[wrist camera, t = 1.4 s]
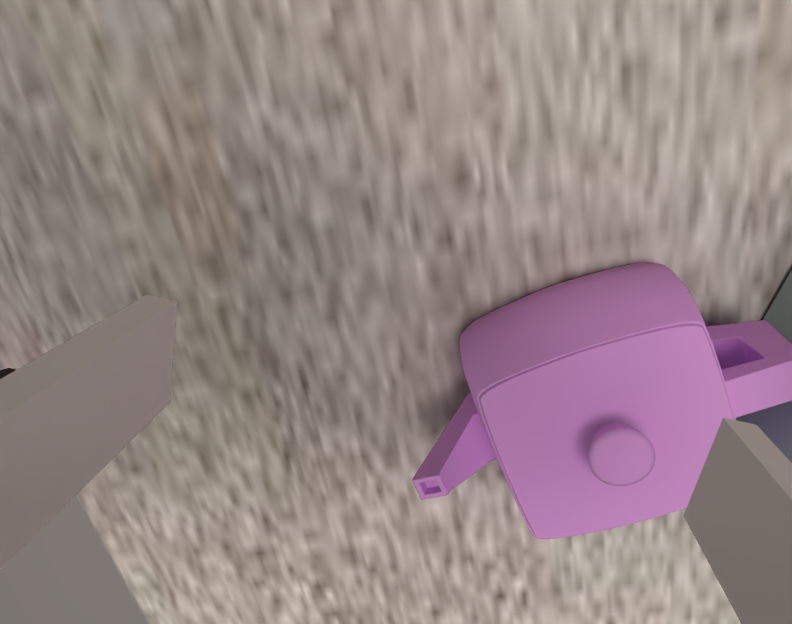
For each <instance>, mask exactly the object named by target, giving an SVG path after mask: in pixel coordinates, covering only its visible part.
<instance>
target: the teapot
mask: <svg viewBox="0 0 792 624" xmlns="http://www.w3.org/2000/svg"><path fill="white" fill-rule="evenodd" d="M460 354H461V361H462V366H463V370H464V374H465V377H466V380H467V383H468V386H469V389H470V391H471V392H470V393H468V395H467V396H466V398H465V399H464V401H463V402H462V404H461V405H460V407H459V409H458V410H457V412H456V413H455V415H454V416H453V418H452V419H451V421H450V422H449V424H448V425H447V427H446V428H445V430H444V431H443V433H442V435H441V436H440V438H439V439H438V441H437V442H436V444H435V445H434V447H433V448H432V450H431V451H430V453H429V454H428V456H427V458H426V459H425V461H424V462H423V464H422V465H421V467H420V468H419V470H418V471H417V473H416V474H415V476H414V477H413V480H412V481H413V483H414V486H415V488H416V490H417V492H418V494H419V496H420V498H421V500H422V499H428V498H433V497H439V496H444V495H448V494H449V491H451V490H452V489H453V488H455V487H456V486H458V485H459V484H460V483H462V482H463V481H464V480H466V479H467V478H469V477H470V476H471V475H473V474H474V473H475V472H477V471H478V470H479V469H481V468H482V467H484V466H485V465H486V464H488V463H489V462H490V461H492V460H494V459H497V461H498V464H499V466H500V468H501V470H502V472H503V475H504V477H505V479H506V481H507V483H508V485H509V488H510V490H511V492H512V494H513V496H514V498H515V500H516V502H517V505H518V507H519V509H520V511H521V513H522V515H523V517H524V520H525V522H526V524H527V525H528V527H529V529H530V531H531V533H532V534H533V535H534V537H536V538H539V539H554V538H562V537H569V536H576V535H581V534H586V533H592V532H597V531H601V530H606V529H611V528H615V527H620V526H624V525H628V524H633V523H637V522H641V521H645V520H648V519H652V518H655V517H659V516H662V515H665V514H669V513H672V512H675V511H678V510H682V509H685V508H687V506H688V503H689V501H690V498H691V496H692V493H693V491H694V488H695V486H696V483H697V481H698V478H699V476H700V474H701V471H702V469H703V466H704V464H705V461H706V459H707V456H708V454H709V451H710V449H711V446H712V444H713V441H714V439H715V437H716V434H717V432H718V429H719V427H720V424H721V422H722V419H723V418H727V419H732V420H736V418H737V417H740V416H743V415H747V414H750V413H753V412H756V411H760V410H763V409H766V408H769V407H773V406H776V405H779V404H783V403H786V402H789V401H792V344H791V343H790V342H789V341H788V340H787V339H785V338H784V337H783V336H782V335H781V334H780V333H779V332H778V331H777V330H776V329H775V328H774V327H773V326H772V325H771V324H770V323H769V322H768V321H766V320H760V321H751V322H742V323H733V324H724V325H715V326H706V325H705V322H704V320H703V318H702V316H701V313H700V311H699V309H698V307H697V305H696V303H695V301H694V300H693V298H692V296H691V295H690V293H689V291H688V290H687V288H686V287H685V285H684V284H683V282H682V281H681V280H680V279H679V278H678V277H677V275H676V274H675V273H674V272H672V271H671V270H670V269H669V268H667V267H666V266H664V265H662V264H657V263H650V262H646V263H635V264H630V265H625V266H620V267H616V268H612V269H608V270H604V271H600V272H597V273H593V274H589V275H586V276H582V277H578V278H575V279H571V280H568V281H565V282H562V283H559V284H556V285H553V286H550V287H547V288H545V289H542V290H539V291H537V292H535V293H532V294H530V295H527V296H525V297H523V298H521V299H518V300H516V301H514V302H512V303H509V304H507V305H505V306H503V307H501V308H499V309H496V310H494V311H492V312H490V313H488V314H486V315H484V316H482V317H481V318H479V319H477V320H475V321H474V322H473V323H471V324H470V325H469V326H468V327H467V328H466V329H465V331H464V332H463V333H462V335H461V338H460Z"/></svg>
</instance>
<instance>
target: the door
mask: <svg viewBox="0 0 792 624" xmlns="http://www.w3.org/2000/svg"><path fill="white" fill-rule="evenodd" d="M763 320H766V321H768V322H769V323H770V324H771V325H772V326H773V327H774V328H775V329H776V330H777V331H778V332H779V333H780V334H781V335H782V336H783V337H784V338H785V339H787V340H788V341H789V342H790V343H791V344H792V270H791V272H790V274H789V275H788V277H787V279H786V281H785V282H784V284H783V286H782V288H781V289H780V291H779V293H778V295H777V296H776V298H775V300H774V302H773V303H772V305H771V307H770V309H769V310H768V312H767V314H766V316H765V317H764V319H763ZM736 420H737V421H741V422H746V423H751V424H755V425H757V426H758V427H759V428H760V429H761V430H762V431H763V432H764V434H765V435H766V436H767V437H768V438H769V439H770V440H771V441H772V442H773V443H774V444H775V446H776V447H777V448H778V449H779V450H780V451H781V452H782V453H783V454H784V455H785V456H786V457H787V459H788V460H789V461H790V462H791V463H792V401H789V402H786V403H783V404H779V405H776V406H773V407H769V408H766V409H763V410H760V411H756V412H753V413H750V414H747V415H743V416H740V417H737V418H736Z"/></svg>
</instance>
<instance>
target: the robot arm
mask: <svg viewBox="0 0 792 624" xmlns="http://www.w3.org/2000/svg"><path fill="white" fill-rule="evenodd" d="M176 311H177V301H175V300H170V299H165V298H160V297H156V296H151V295H145V296H143V297H142V298H140V299H138V300H136V301H135V302H133V303H131V304H129V305H128V306H126V307H124V308H123V309H121V310H119V311H117V312H116V313H114V314H112V315H110V316H109V317H107V318H105V319H104V320H102V321H100V322H98V323H97V324H95V325H93V326H91V327H90V328H88V329H86V330H85V331H83V332H81V333H79V334H78V335H76V336H74V337H72V338H71V339H69V340H67V341H66V342H64V343H62V344H60V345H59V346H57V347H55V348H53V349H52V350H50V351H48V352H47V353H45V354H43V355H41V356H40V357H38V358H36V359H34V360H33V361H31V362H29V363H27V364H26V365H24V366H22V367H21V368H19V369H17V370H15V369H11V368H7V369H4V370H1V371H0V569H1V568H2V567H3V566H4V565H5V564H6V563H7V562H8V561H9V560H11V558H13V557H14V556H15V555H16V554H17V552H19V551H20V549H22V548H23V547H24V546H25V545H26V544H27V543H28V542H29V541H30V540H31V539H32V538H33V537H34V536H35V535H36V534H37V533H38V532H39V531H40V530H41V529H42V528H43V527H44V526H45V525H46V524H47V523H48V522H49V521H50V520H51V519H52V518H53V517H54V516H55V515H56V514H57V513H58V512H59V511H60V510H61V509H62V508H63V507H64V506H65V505H66V504H67V503H68V502H69V501H70V500H71V499H72V498H73V497H74V496H75V495H76V494H77V493H78V492H79V491H80V490H81V489H82V488H83V487H85V486H86V485H87V484H88V483H89V482H90V481H91V480H92V479H93V478H94V477H95V476H96V475H97V474H98V473H99V472H100V471H101V470H102V469H103V468H104V467H105V466H106V465H107V464H108V463H109V462H110V461H111V460H112V459H113V458H114V457H115V456H116V455H117V454H118V453H119V452H120V451H121V450H122V449H123V448H124V447H125V446H126V445H127V444H128V443H129V442H130V441H131V440H132V439H133V438H134V437H135V436H136V435H137V434H138V433H139V432H140V431H141V430H142V429H143V428H144V427H145V426H146V425H147V424H148V423H149V422H150V421H151V420H152V419H153V418H154V417H155V416H156V415H157V414H158V413H159V412H160V411H161V410H163V409H164V408H165V407H166V406H167V405H168V404H169V403H170V396H171V382H172V368H173V354H174V340H175V326H176ZM684 517H685V519H686V521H687V523H688V525H689V527H690V529H691V530H692V532H693V534H694V536H695V538H696V540H697V542H698V544H699V545H700V547H701V549H702V551H703V553H704V555H705V557H706V558H707V560H708V562H709V564H710V566H711V568H712V570H713V572H714V573H715V575H716V577H717V579H718V581H719V583H720V585H721V586H722V588H723V590H724V592H725V594H726V596H727V598H728V600H729V601H730V603H731V605H732V607H733V609H734V611H735V613H736V615H737V616H738V618H739V620H740V622H741V624H792V463H791V462H790V461H789V460H788V459H787V457H786V456H785V455H784V454H783V453H782V452H781V451H780V450H779V449H778V448H777V447H776V446H775V444H774V443H773V442H772V441H771V440H770V439H769V438H768V437H767V436H766V435H765V434H764V432H763V431H762V430H761V429H760V428H759V427H758V426H757V425H755V424H751V423H746V422H741V421H737V420H732V419H727V418H723V419H722V422H721V424H720V427H719V429H718V432H717V434H716V437H715V439H714V441H713V444H712V446H711V449H710V451H709V454H708V456H707V459H706V461H705V464H704V466H703V469H702V471H701V474H700V476H699V478H698V481H697V483H696V486H695V488H694V491H693V493H692V496H691V498H690V501H689V503H688V506H687V508H686V511H685V513H684Z"/></svg>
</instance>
